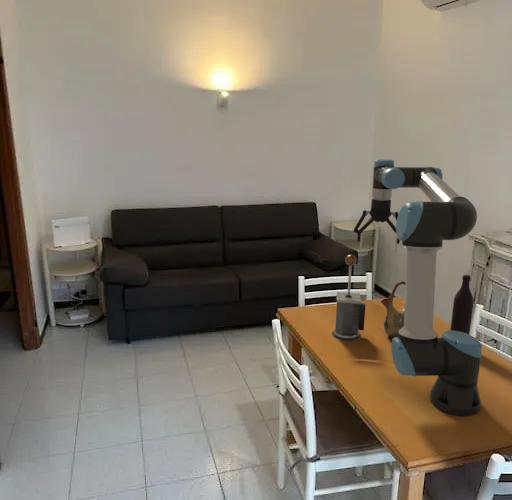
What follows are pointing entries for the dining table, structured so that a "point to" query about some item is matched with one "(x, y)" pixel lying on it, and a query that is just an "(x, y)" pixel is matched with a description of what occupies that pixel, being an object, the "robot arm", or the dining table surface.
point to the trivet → (346, 340)
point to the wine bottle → (462, 308)
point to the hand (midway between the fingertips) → (377, 250)
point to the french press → (349, 316)
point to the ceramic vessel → (393, 315)
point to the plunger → (350, 261)
